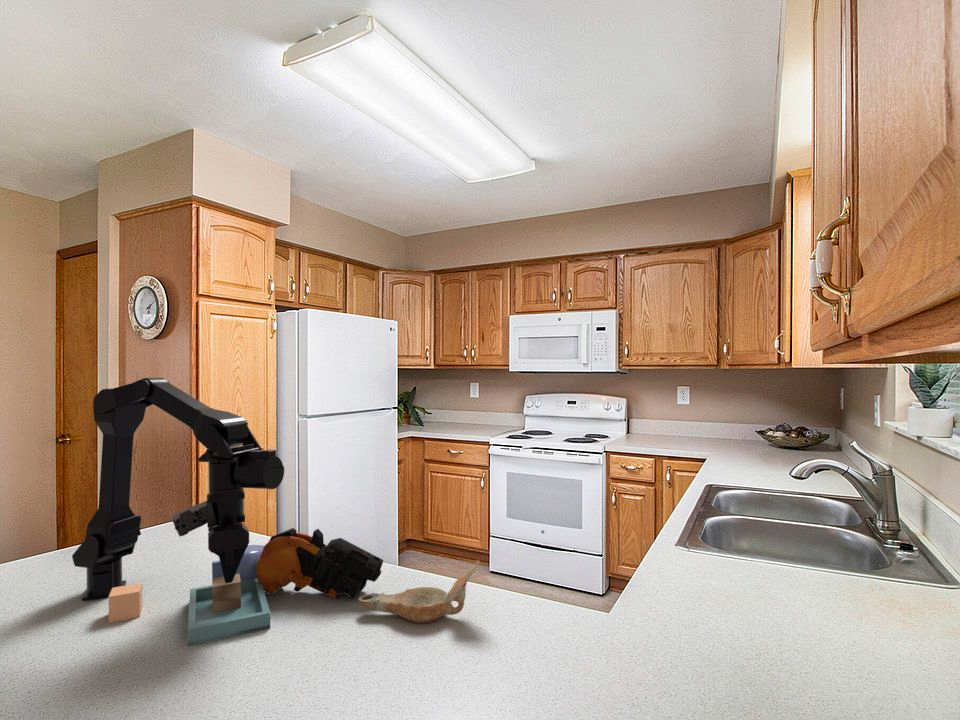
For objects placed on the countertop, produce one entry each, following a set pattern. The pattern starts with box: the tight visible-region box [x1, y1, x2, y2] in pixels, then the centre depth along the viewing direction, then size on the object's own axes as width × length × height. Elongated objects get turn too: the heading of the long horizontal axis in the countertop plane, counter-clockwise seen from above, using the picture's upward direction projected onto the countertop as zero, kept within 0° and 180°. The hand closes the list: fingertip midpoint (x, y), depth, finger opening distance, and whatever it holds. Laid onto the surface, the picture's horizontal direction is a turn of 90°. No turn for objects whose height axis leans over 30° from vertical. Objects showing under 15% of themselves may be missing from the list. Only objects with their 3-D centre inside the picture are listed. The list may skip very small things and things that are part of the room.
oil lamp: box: [358, 560, 480, 624], centre depth 94 cm, size 9×21×10 cm, turn 81°
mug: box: [211, 544, 265, 580], centre depth 108 cm, size 7×10×7 cm
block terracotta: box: [108, 582, 143, 624], centre depth 96 cm, size 4×4×4 cm
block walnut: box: [211, 574, 241, 613], centre depth 98 cm, size 4×4×4 cm
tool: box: [256, 527, 384, 599], centre depth 104 cm, size 8×23×15 cm, turn 79°
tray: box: [187, 578, 271, 647], centre depth 96 cm, size 18×12×2 cm, turn 27°
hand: (227, 573), depth 98 cm, fingers open, 9 cm apart
